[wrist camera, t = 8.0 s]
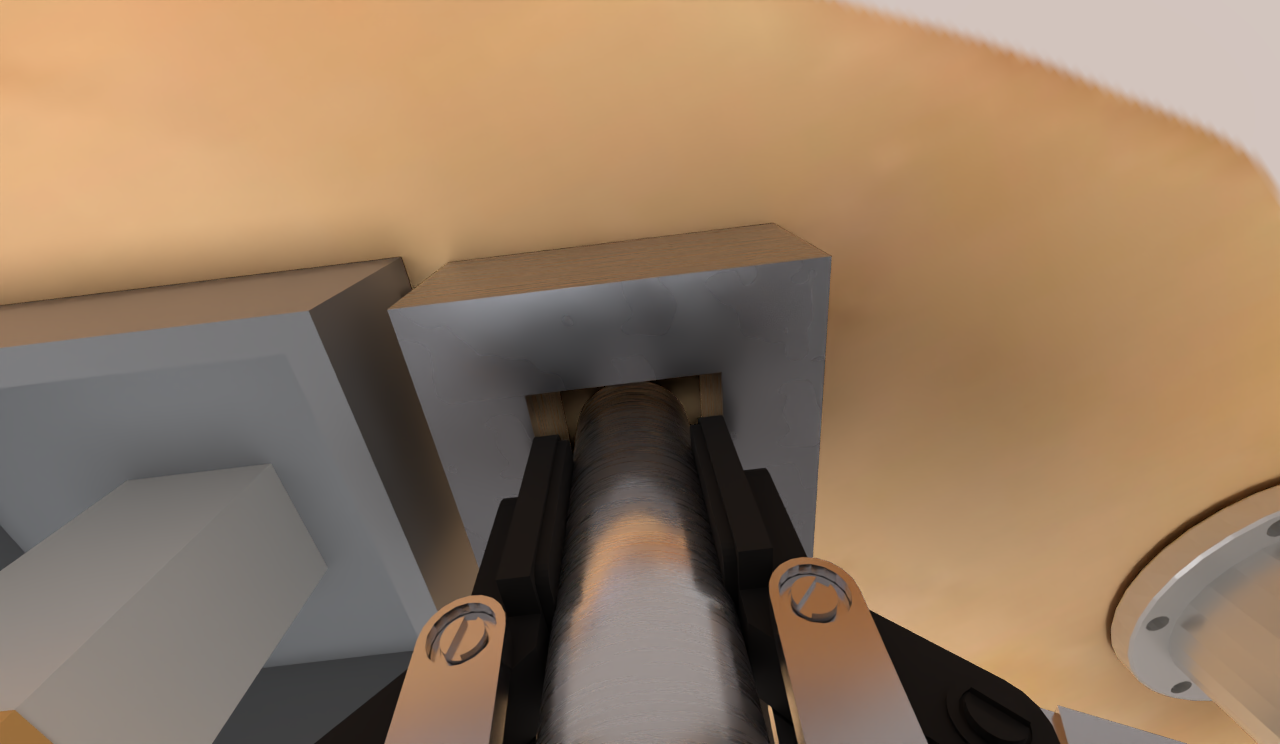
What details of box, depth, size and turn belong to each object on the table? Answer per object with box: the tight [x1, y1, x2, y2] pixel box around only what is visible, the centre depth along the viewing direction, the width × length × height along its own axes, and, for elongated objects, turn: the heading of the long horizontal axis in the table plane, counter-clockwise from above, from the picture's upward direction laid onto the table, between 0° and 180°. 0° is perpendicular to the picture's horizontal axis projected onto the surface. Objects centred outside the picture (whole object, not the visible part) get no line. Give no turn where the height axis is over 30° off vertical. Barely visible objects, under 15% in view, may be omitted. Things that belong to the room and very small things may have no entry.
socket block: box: [387, 223, 832, 568], centre depth 14 cm, size 9×9×4 cm
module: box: [0, 464, 328, 744], centre depth 13 cm, size 4×4×8 cm
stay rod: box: [536, 381, 770, 744], centre depth 9 cm, size 3×3×10 cm
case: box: [0, 257, 479, 744], centre depth 15 cm, size 16×16×4 cm
